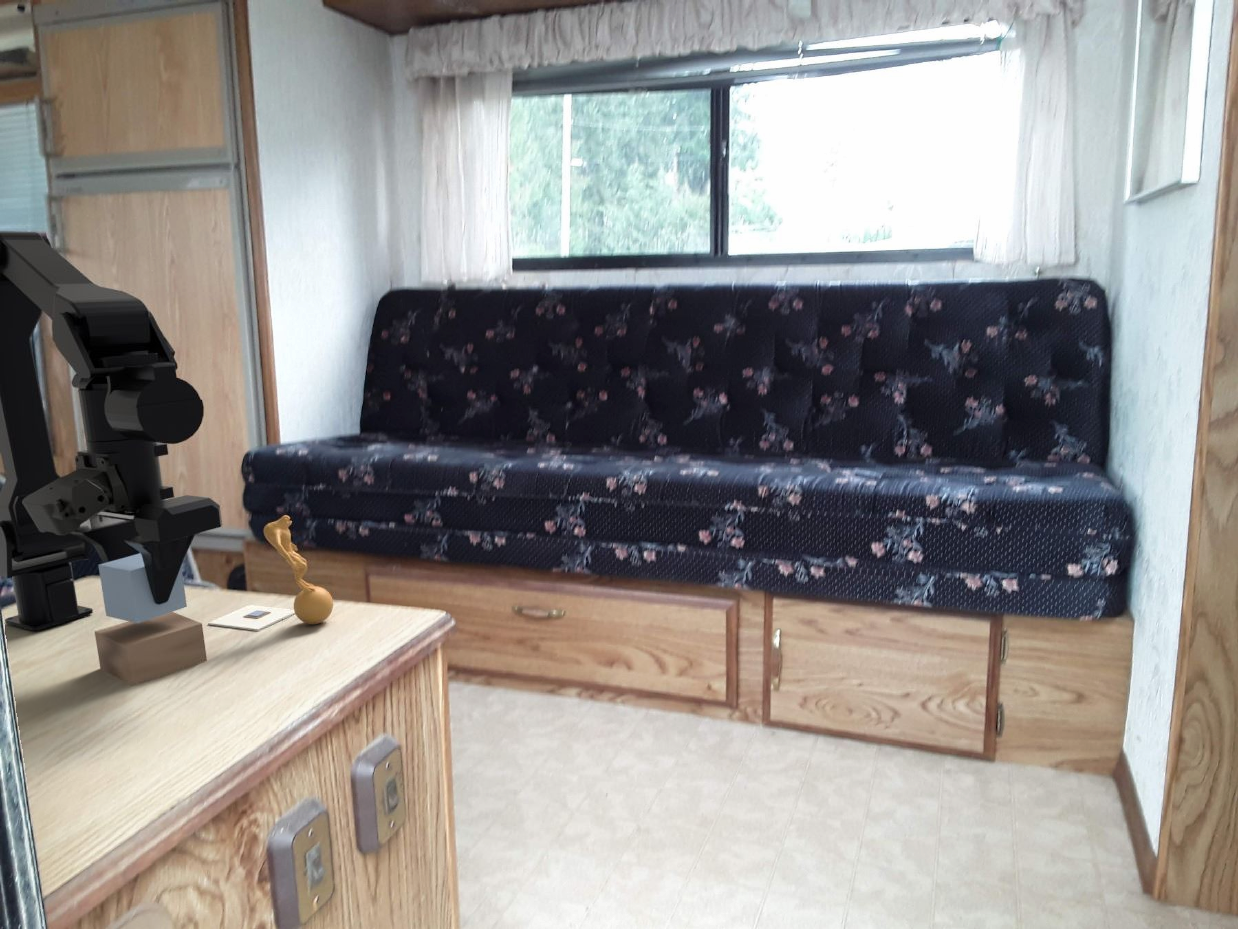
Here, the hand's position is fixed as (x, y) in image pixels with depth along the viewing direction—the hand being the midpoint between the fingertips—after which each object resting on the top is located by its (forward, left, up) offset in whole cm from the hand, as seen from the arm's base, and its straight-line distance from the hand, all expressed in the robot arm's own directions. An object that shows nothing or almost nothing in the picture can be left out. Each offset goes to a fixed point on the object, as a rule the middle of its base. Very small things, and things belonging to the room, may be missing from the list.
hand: (144, 599), depth 89 cm
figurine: (+5, +14, -7) cm, 16 cm away
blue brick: (0, 0, -1) cm, 1 cm away
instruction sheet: (-2, +13, -6) cm, 15 cm away
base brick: (0, 0, -7) cm, 7 cm away
